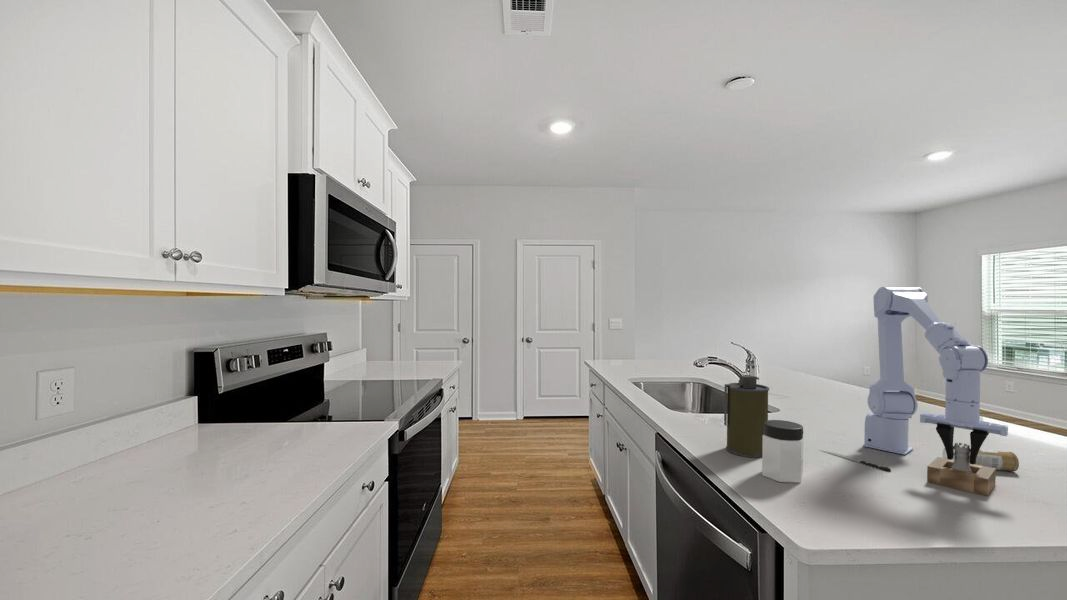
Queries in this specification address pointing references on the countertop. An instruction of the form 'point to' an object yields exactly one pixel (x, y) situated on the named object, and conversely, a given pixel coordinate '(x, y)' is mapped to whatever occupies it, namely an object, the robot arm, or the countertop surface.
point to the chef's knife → (857, 460)
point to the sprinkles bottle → (994, 459)
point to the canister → (745, 416)
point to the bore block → (962, 476)
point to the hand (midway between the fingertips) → (961, 460)
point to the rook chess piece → (961, 457)
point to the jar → (782, 451)
